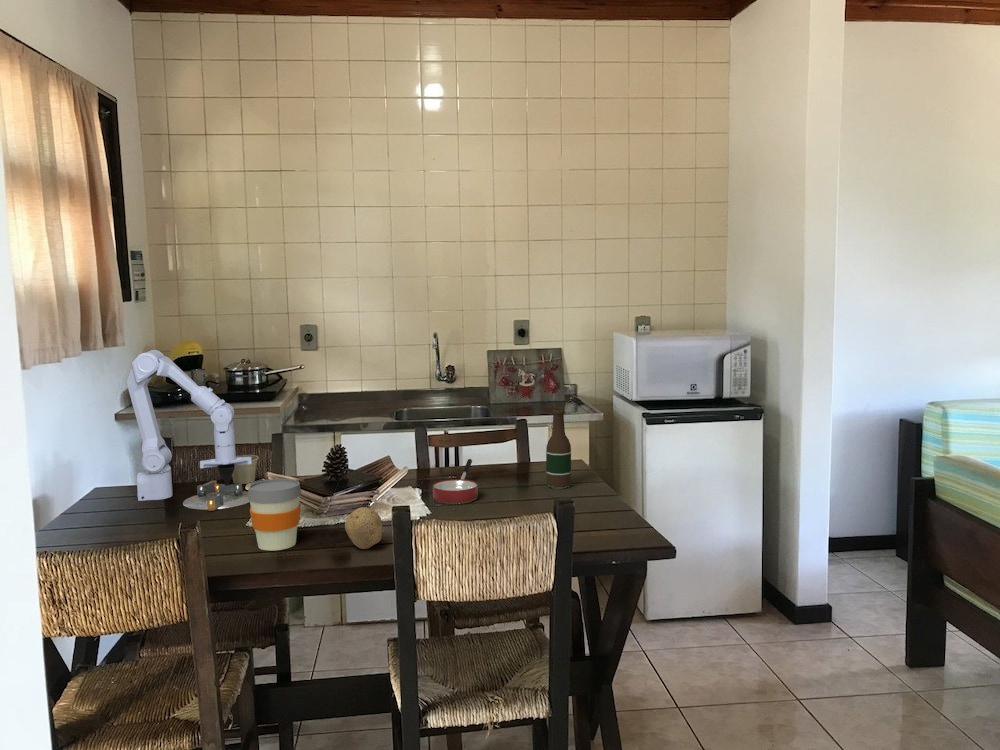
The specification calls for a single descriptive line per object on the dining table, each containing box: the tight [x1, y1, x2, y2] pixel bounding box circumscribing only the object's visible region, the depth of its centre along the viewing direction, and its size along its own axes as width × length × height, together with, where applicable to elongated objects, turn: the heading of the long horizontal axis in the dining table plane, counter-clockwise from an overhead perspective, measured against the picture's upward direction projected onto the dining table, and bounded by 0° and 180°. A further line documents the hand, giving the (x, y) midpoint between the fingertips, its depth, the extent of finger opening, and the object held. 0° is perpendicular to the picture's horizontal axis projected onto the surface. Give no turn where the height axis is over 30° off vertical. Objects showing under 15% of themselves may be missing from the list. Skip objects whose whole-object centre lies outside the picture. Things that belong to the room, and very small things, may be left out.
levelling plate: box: [182, 490, 250, 510], centre depth 241 cm, size 20×20×2 cm
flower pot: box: [231, 454, 259, 485], centre depth 262 cm, size 9×9×9 cm
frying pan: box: [432, 458, 479, 502], centre depth 252 cm, size 32×13×6 cm, turn 178°
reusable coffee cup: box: [247, 478, 302, 552], centre depth 203 cm, size 13×13×15 cm
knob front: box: [207, 492, 224, 512], centre depth 232 cm, size 8×2×3 cm, turn 0°
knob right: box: [214, 483, 243, 495], centre depth 246 cm, size 8×2×3 cm, turn 84°
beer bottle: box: [545, 408, 572, 487], centre depth 254 cm, size 8×8×24 cm
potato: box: [344, 506, 383, 550], centre depth 200 cm, size 9×9×10 cm
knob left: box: [196, 480, 218, 497], centre depth 247 cm, size 8×2×3 cm, turn 168°
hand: (227, 489), depth 248 cm, fingers closed
